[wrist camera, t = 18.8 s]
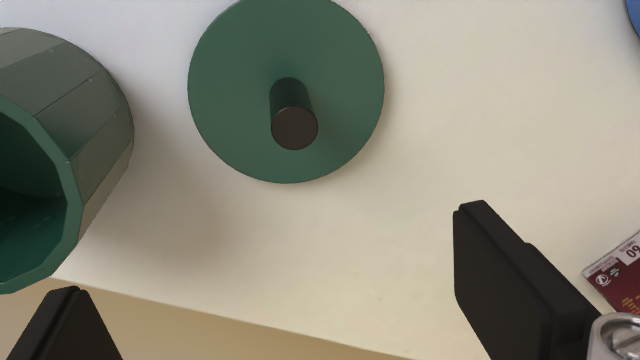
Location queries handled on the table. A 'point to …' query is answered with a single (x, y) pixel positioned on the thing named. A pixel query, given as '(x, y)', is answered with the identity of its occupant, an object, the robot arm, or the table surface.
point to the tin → (54, 150)
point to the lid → (285, 88)
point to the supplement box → (619, 277)
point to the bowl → (634, 13)
